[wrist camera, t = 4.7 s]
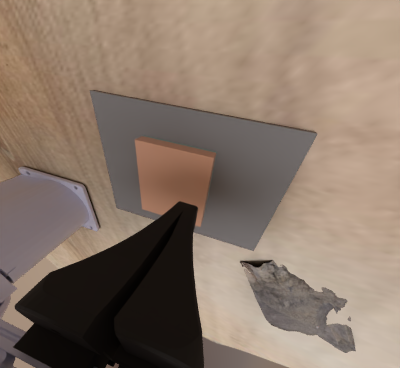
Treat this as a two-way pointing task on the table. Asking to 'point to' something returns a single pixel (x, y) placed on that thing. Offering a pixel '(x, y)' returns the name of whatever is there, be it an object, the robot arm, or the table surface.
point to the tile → (173, 175)
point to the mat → (223, 168)
